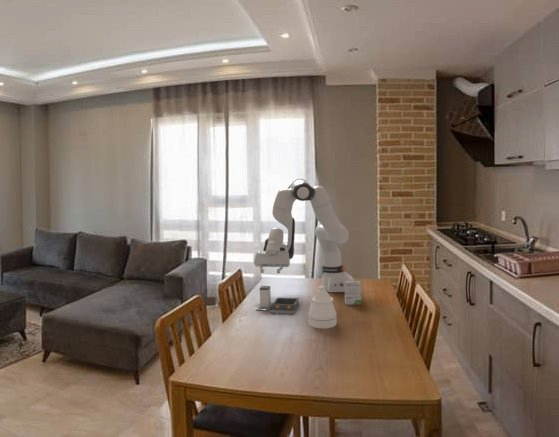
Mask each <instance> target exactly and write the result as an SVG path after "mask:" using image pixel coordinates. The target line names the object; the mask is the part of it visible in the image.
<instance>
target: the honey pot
mask: <svg viewBox="0 0 559 437" xmlns="http://www.w3.org/2000/svg"><path fill="white" fill-rule="evenodd" d="M333 302H334V298H333V297H332V296H330V294H329V293H328V291H326V290H325V289H324V286H321V285H319V286H318V289H317V291H316V292H315V294H314V296H313V297H312V298H311V304H310V308H309V311H308V325H309V326H310V327H312V328H316V329H330V328H334V327H335V326H337V320H338V319H337V311H336V308H335V305H334V304H333Z"/></svg>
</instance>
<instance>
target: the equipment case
mask: <svg viewBox="0 0 559 437" xmlns="http://www.w3.org/2000/svg"><path fill="white" fill-rule="evenodd" d="M299 306H300V298H294V297H276V299H275V300H274V301H273V304H272V309H271V310H270V311H269V314H270V313H278V314H277V315H285V314H289V315H291V316H293V315H294V314H295V313H296V311H297V309H298V307H299ZM289 315H288V316H289Z"/></svg>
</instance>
